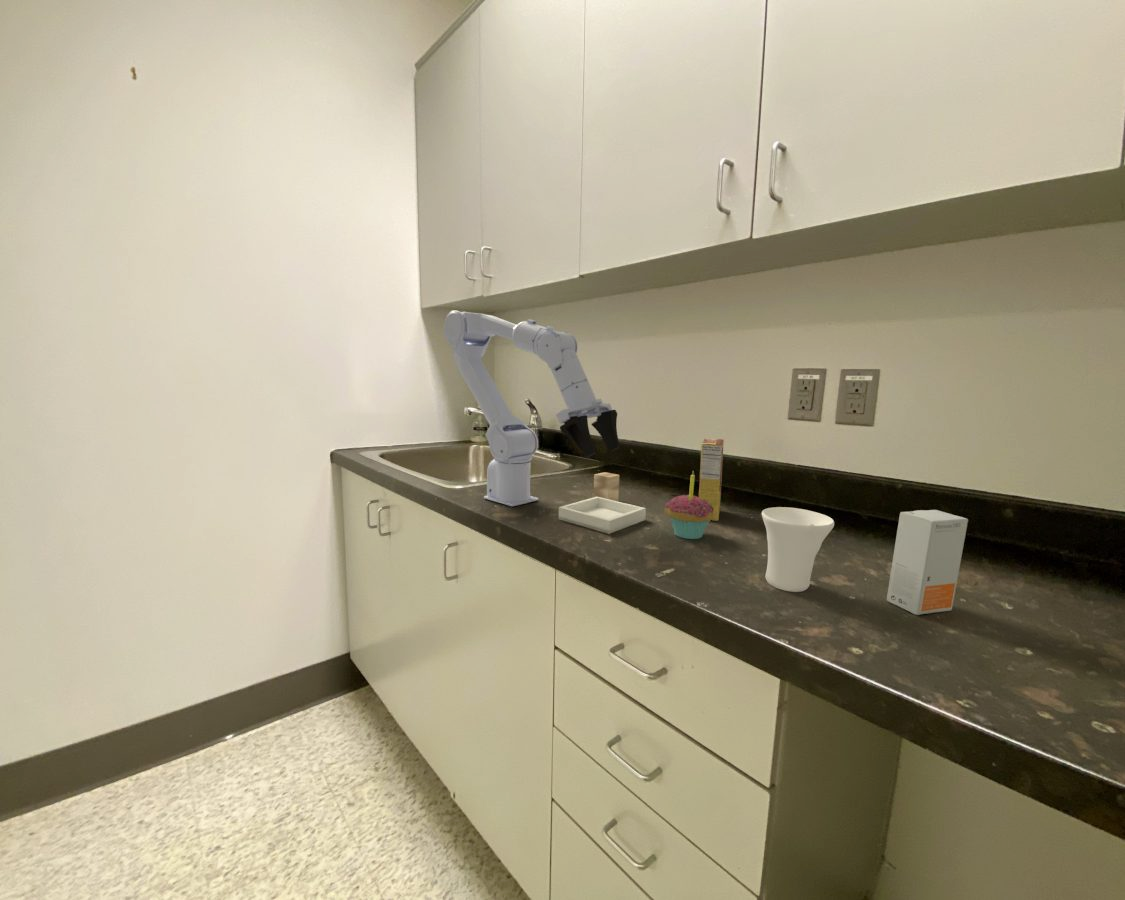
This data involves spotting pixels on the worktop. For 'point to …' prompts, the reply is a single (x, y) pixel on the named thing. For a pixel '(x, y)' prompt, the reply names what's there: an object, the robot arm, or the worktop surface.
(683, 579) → the worktop surface
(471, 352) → the robot arm
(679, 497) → the cupcake
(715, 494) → the candy box
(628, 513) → the tray
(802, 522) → the cup
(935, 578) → the skincare box
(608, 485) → the wooden block
